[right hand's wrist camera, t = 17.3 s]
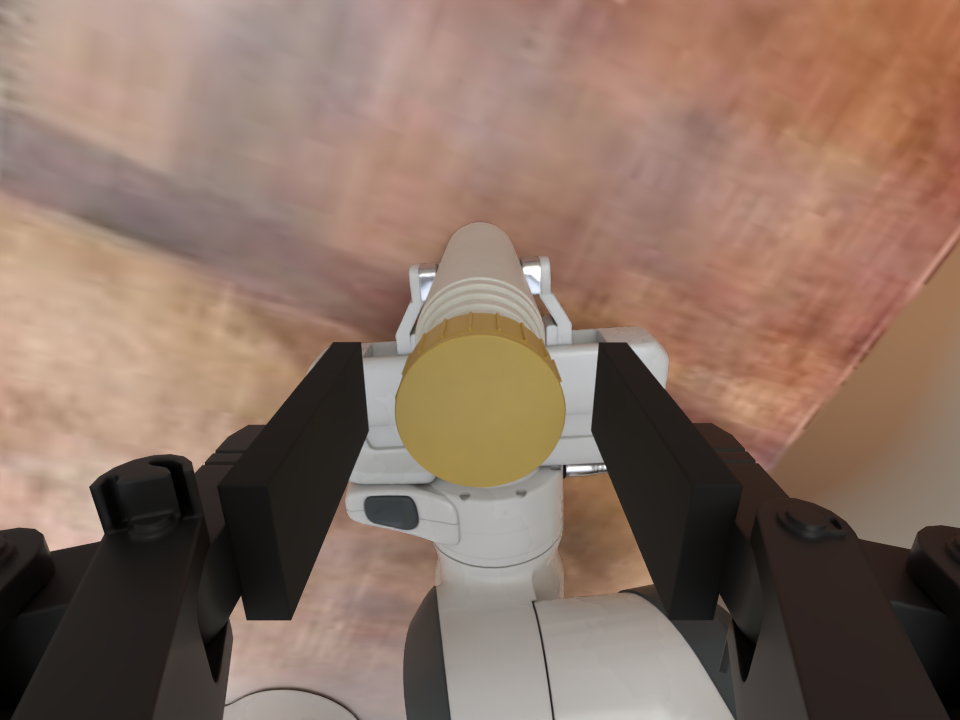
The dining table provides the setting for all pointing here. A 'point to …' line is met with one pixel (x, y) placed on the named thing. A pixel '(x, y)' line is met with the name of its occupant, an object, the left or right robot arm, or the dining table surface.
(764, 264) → the dining table surface
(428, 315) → the bottle
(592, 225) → the dining table surface
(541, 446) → the cap
